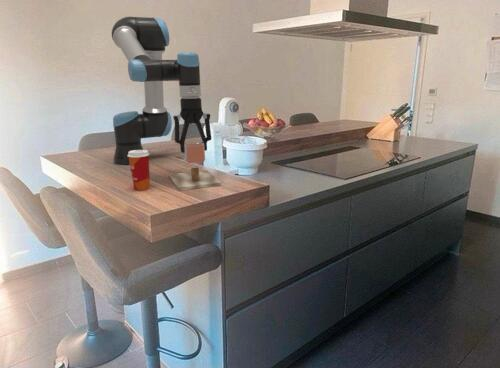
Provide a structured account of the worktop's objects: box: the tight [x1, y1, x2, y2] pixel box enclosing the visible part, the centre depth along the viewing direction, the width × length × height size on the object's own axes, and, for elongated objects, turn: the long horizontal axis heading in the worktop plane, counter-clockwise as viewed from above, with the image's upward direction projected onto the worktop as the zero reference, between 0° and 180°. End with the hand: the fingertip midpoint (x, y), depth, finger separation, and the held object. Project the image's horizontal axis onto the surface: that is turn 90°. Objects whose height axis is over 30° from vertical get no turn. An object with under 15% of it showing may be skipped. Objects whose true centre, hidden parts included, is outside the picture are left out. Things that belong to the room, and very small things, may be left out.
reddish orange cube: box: [187, 143, 206, 164], centre depth 141 cm, size 6×6×6 cm
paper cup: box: [128, 149, 151, 191], centre depth 137 cm, size 8×8×14 cm
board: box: [168, 167, 222, 192], centre depth 146 cm, size 16×20×6 cm
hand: (194, 160), depth 142 cm, fingers closed on reddish orange cube, 6 cm apart
